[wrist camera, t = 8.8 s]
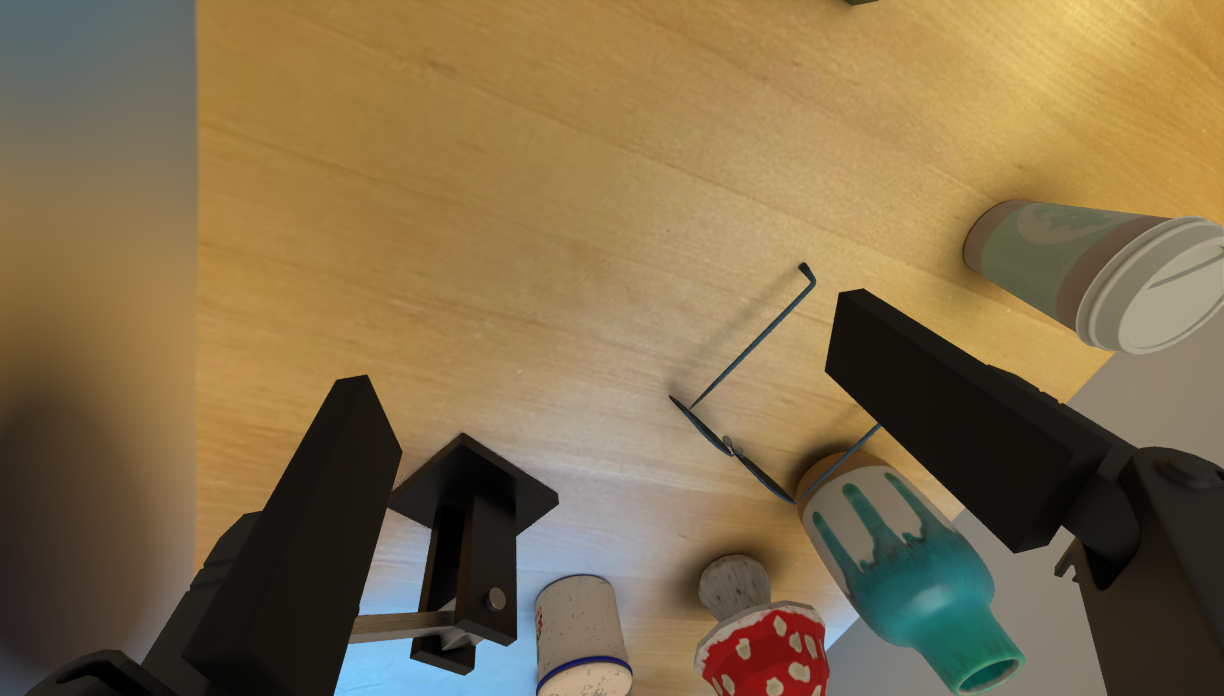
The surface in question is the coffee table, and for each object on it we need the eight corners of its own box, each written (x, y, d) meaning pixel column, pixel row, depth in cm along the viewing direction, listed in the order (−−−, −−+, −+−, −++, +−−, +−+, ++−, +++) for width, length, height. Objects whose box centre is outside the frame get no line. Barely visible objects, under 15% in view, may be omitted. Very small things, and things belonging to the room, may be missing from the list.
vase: (896, 447, 48) (1094, 640, 31) (830, 516, 52) (975, 718, 35) (824, 419, 44) (1009, 624, 27) (758, 496, 48) (885, 715, 31)
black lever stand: (388, 495, 39) (339, 660, 28) (462, 431, 37) (441, 581, 26) (489, 546, 44) (481, 701, 33) (558, 493, 42) (574, 639, 31)
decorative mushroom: (804, 531, 52) (897, 679, 40) (755, 606, 59) (822, 754, 46) (693, 528, 48) (757, 691, 36) (653, 609, 55) (696, 771, 42)
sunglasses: (656, 387, 38) (681, 420, 34) (787, 253, 36) (830, 270, 32) (766, 477, 46) (797, 513, 42) (876, 371, 44) (921, 398, 40)
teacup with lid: (518, 592, 48) (520, 725, 38) (599, 561, 48) (622, 686, 38) (561, 643, 55) (572, 769, 45) (633, 616, 55) (660, 736, 45)
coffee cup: (1071, 190, 36) (1292, 236, 26) (1006, 292, 40) (1175, 367, 30) (986, 171, 34) (1192, 214, 23) (927, 281, 38) (1080, 357, 28)
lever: (271, 633, 24) (268, 685, 23) (332, 583, 23) (333, 634, 22) (454, 619, 33) (460, 656, 32) (503, 583, 32) (512, 619, 31)
